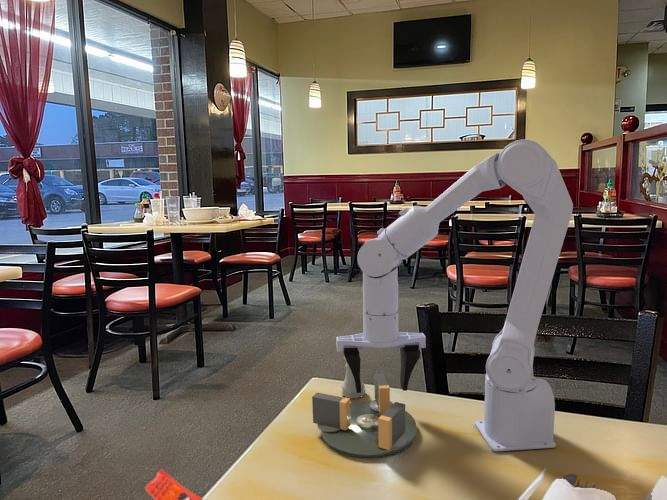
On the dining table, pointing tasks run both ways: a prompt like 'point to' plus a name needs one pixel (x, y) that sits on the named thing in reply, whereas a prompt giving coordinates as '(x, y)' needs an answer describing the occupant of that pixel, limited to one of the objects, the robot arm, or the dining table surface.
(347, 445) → the base plate
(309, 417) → the dining table surface
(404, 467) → the dining table surface
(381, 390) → the grey block
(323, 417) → the knob
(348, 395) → the rook chess piece
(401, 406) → the knob
